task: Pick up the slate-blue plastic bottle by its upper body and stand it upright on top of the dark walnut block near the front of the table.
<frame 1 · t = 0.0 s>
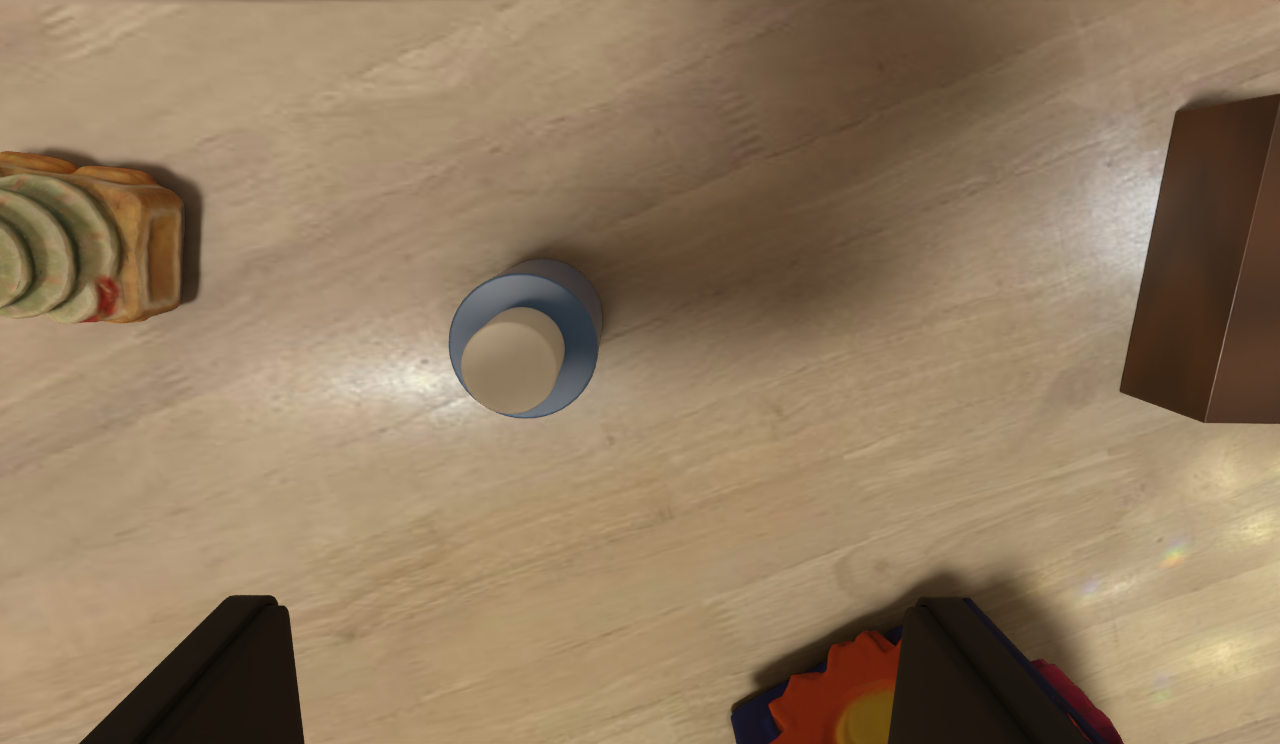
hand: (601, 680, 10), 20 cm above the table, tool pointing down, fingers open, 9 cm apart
ornament: (107, 237, 27), on the table
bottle: (544, 317, 29), on the table
decorative cube: (896, 740, 35), on the table
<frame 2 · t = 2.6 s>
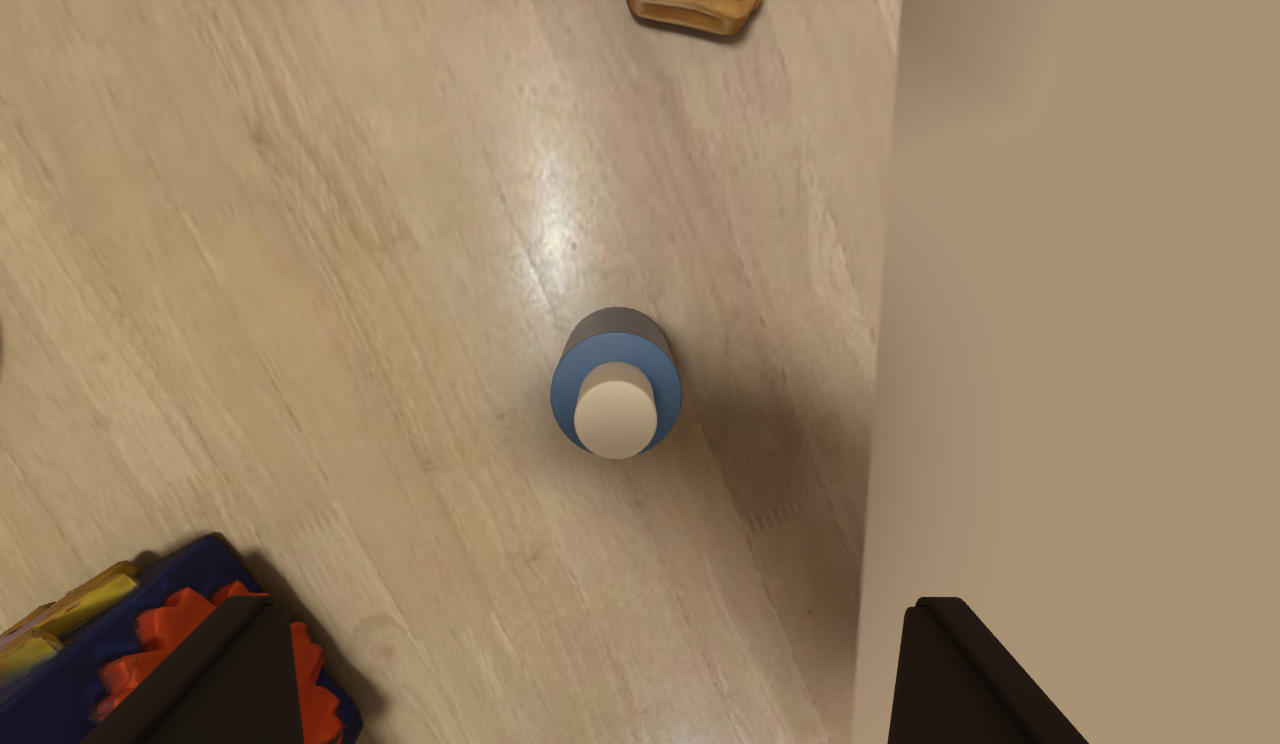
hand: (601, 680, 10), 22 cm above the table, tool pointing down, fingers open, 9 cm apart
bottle: (617, 359, 31), on the table
decorative cube: (198, 682, 35), on the table
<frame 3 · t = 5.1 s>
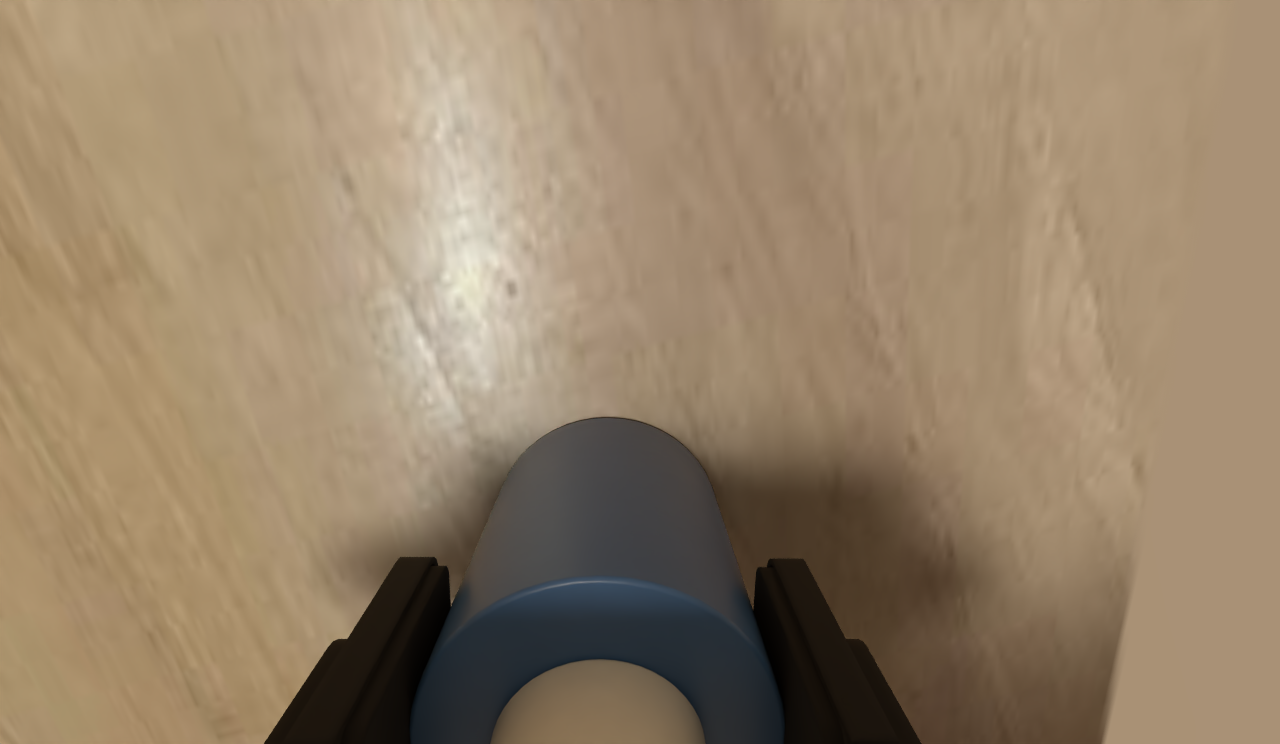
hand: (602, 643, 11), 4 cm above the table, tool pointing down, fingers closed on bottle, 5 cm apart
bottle: (607, 521, 15), on the table, touching gripper
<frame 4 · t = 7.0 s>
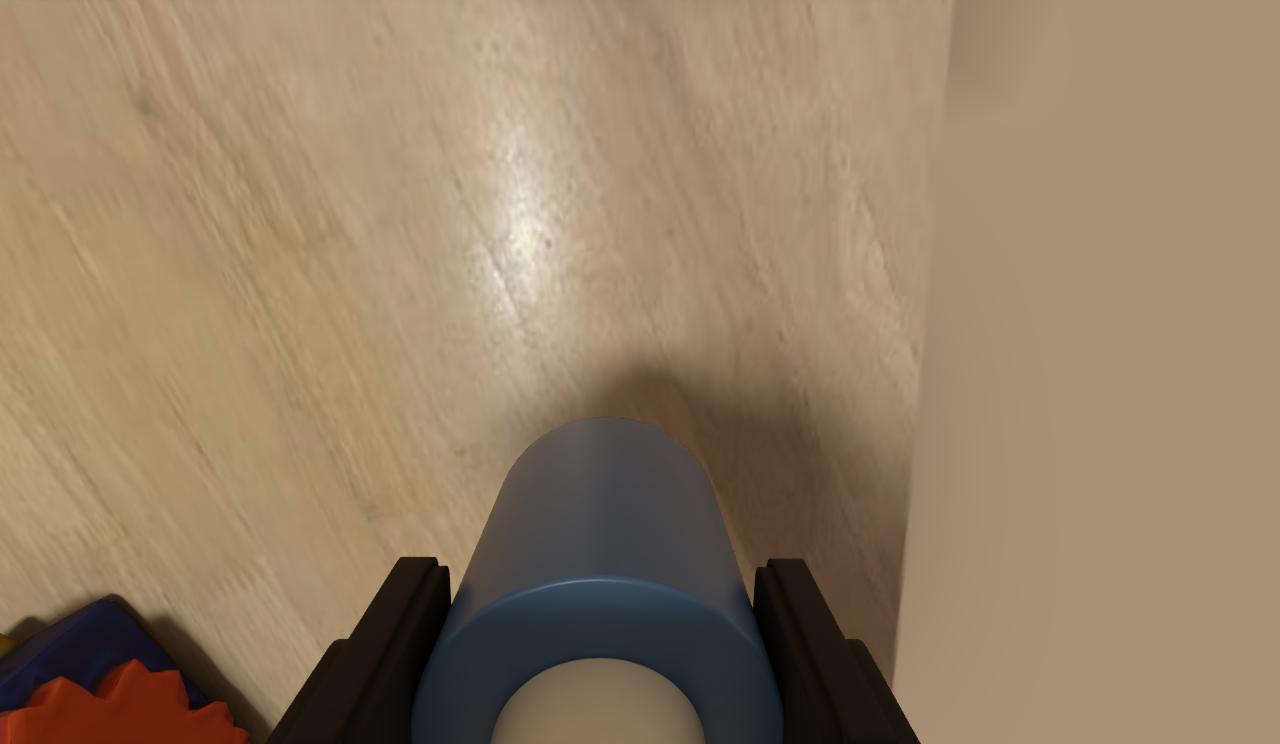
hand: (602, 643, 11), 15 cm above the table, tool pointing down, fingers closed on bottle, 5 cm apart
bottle: (607, 521, 15), point 11 cm above the table, touching gripper
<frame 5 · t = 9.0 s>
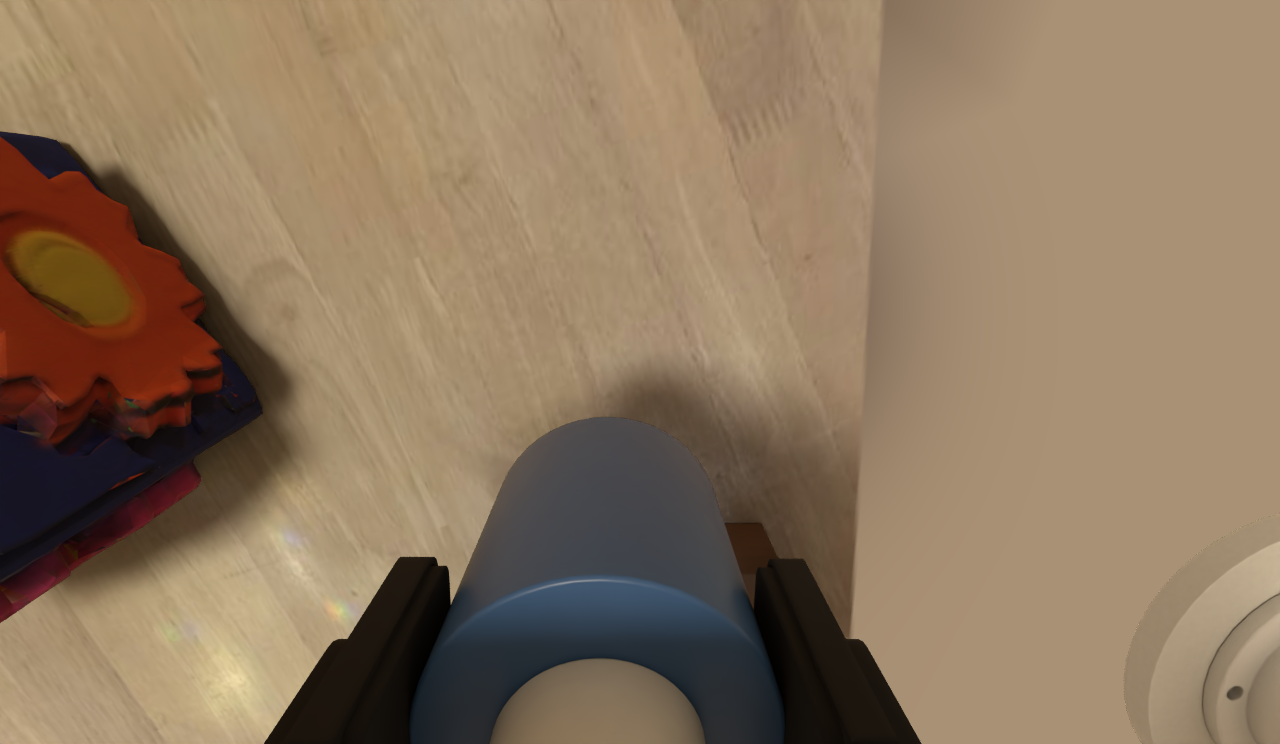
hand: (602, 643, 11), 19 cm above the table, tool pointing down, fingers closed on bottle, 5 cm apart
block: (634, 635, 33), on the table
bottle: (607, 521, 15), point 15 cm above the table, touching gripper
decorative cube: (56, 357, 29), on the table
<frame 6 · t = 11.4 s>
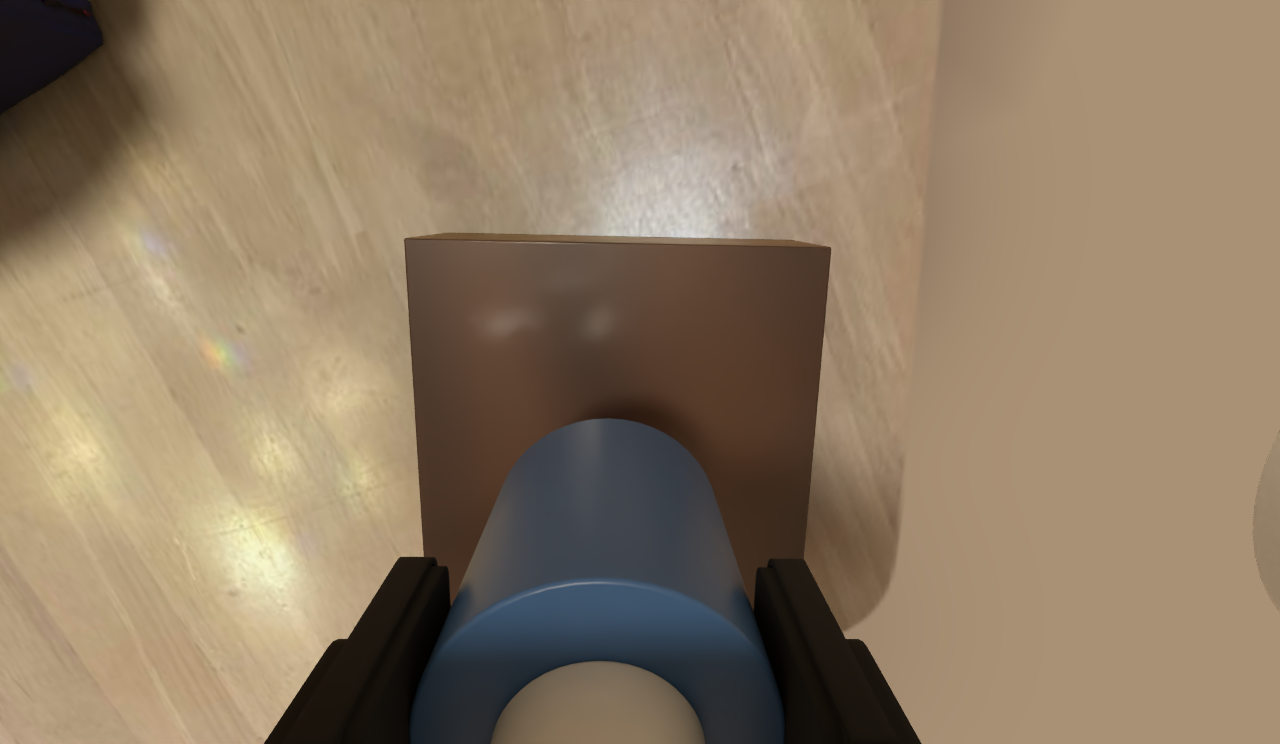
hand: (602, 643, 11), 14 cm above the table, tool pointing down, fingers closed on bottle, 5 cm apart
block: (618, 402, 24), on the table
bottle: (607, 522, 15), point 10 cm above the table, touching gripper
when the fingers open (9 cm above the table, at t = 13.0 s): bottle stays where it is, resting on block.
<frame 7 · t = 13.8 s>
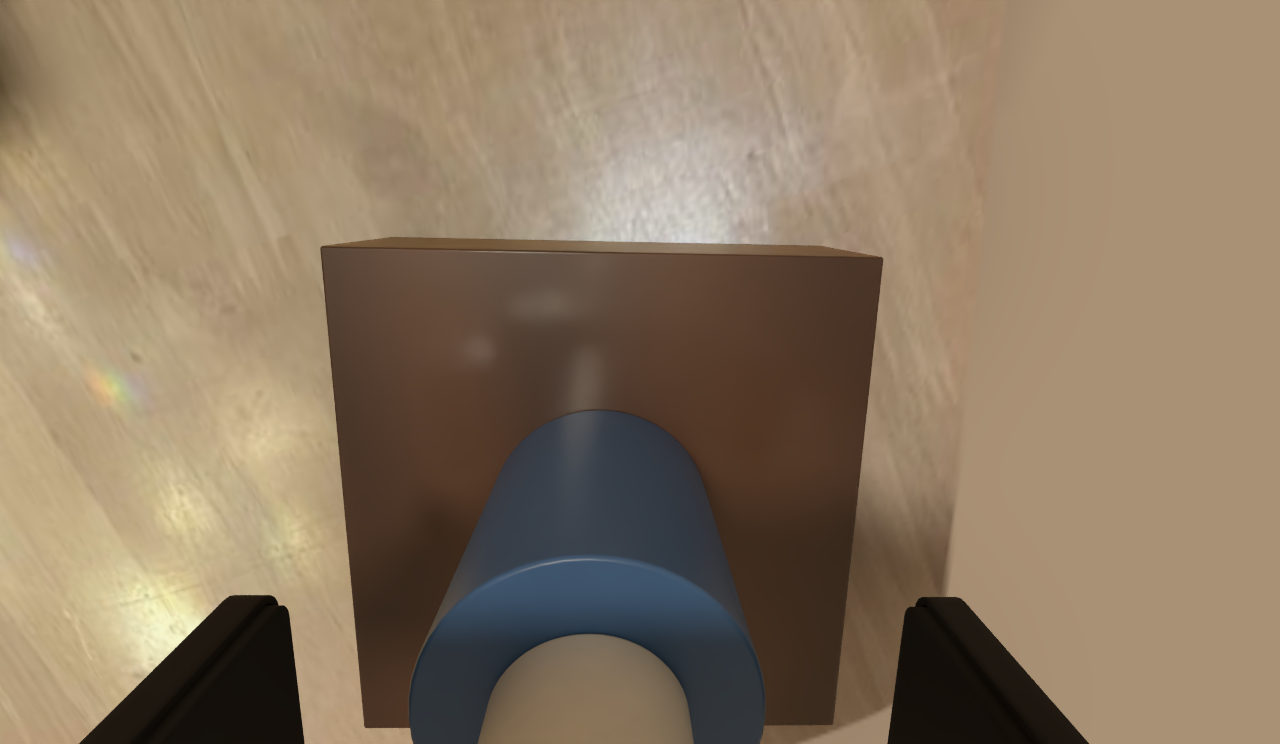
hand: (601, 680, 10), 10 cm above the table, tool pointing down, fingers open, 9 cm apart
block: (606, 445, 20), on the table
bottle: (600, 511, 16), point 4 cm above the table, touching block
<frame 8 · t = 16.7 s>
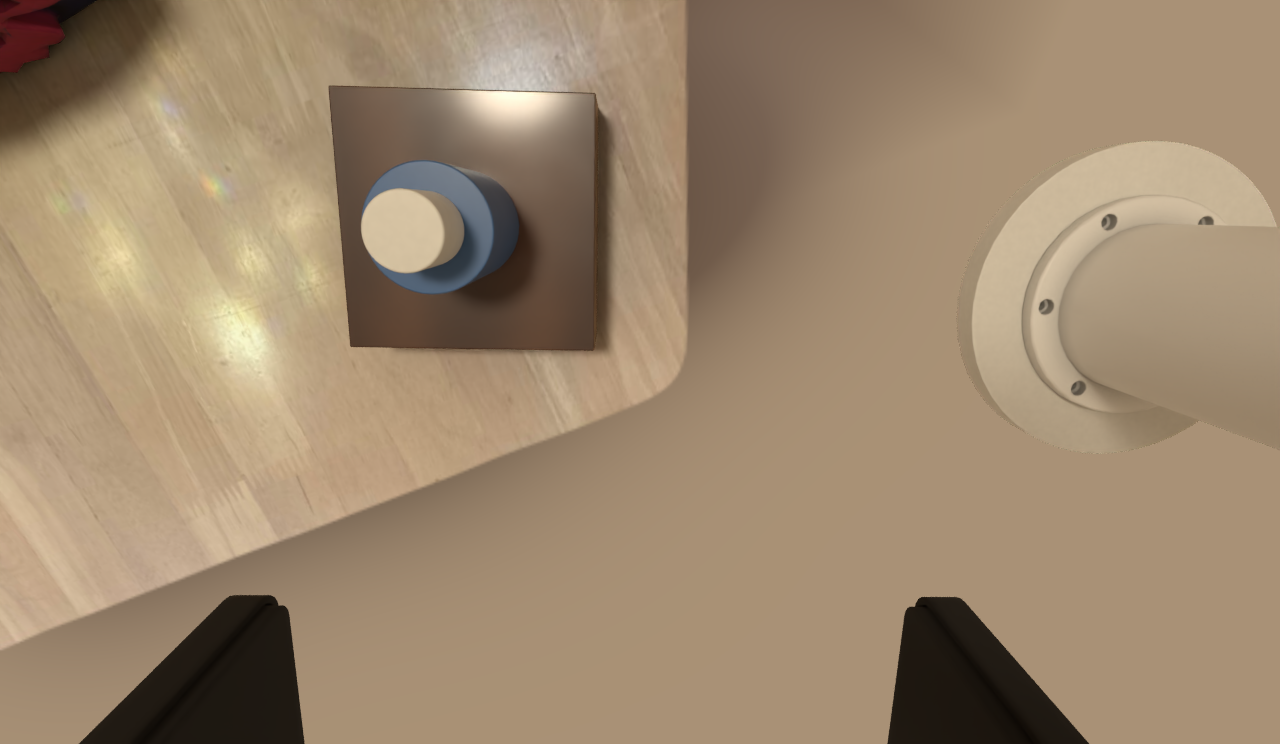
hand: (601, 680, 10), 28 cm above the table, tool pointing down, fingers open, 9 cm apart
block: (486, 222, 36), on the table
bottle: (466, 224, 31), point 4 cm above the table, touching block
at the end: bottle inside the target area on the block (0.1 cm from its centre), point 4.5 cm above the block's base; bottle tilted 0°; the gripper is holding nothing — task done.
